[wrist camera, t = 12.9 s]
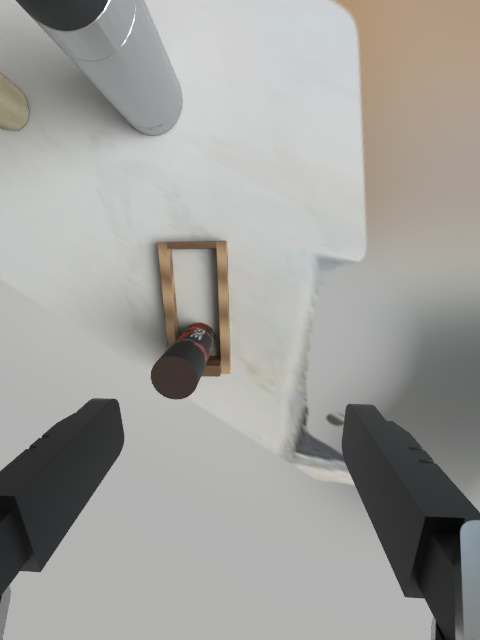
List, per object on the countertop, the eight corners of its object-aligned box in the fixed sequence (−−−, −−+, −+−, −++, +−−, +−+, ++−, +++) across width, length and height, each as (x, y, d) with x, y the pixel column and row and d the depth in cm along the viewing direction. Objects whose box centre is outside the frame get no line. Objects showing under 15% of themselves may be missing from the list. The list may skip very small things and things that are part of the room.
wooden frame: (161, 243, 40) (152, 241, 36) (227, 241, 39) (224, 240, 35) (173, 368, 46) (166, 378, 42) (230, 368, 45) (228, 379, 41)
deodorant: (184, 352, 45) (152, 398, 30) (183, 322, 43) (148, 355, 29) (215, 353, 45) (198, 400, 30) (215, 323, 43) (197, 357, 29)
